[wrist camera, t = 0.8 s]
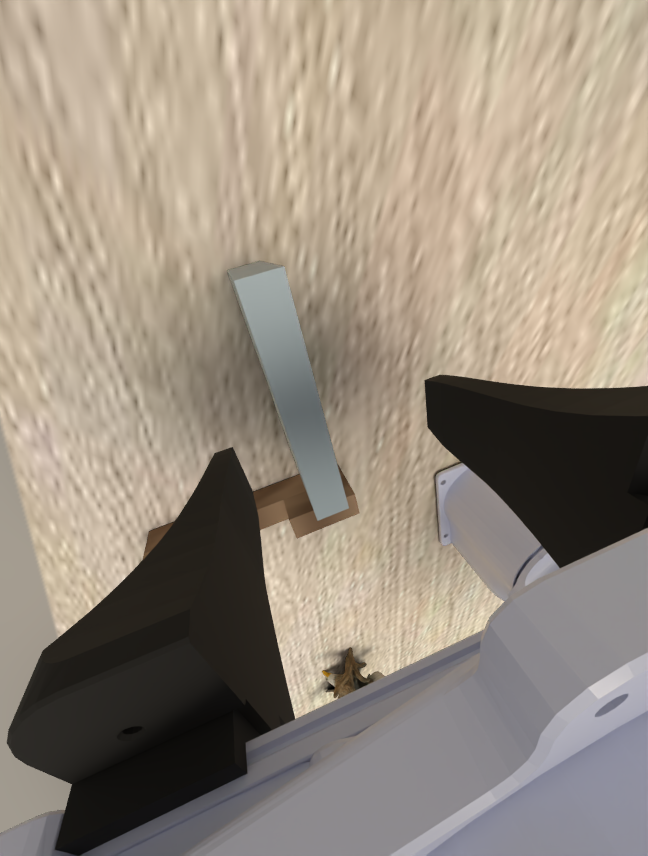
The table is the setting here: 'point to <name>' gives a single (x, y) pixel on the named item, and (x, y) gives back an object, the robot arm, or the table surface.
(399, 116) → the table surface
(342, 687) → the brown animal figurine
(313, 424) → the pale blue prism block
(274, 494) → the walnut rail
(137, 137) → the table surface
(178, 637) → the robot arm
